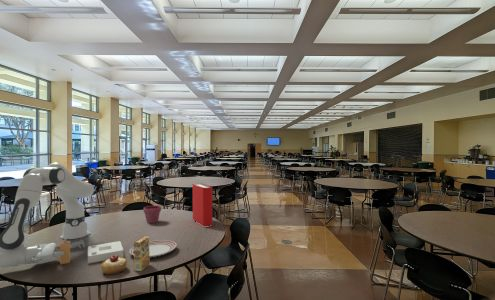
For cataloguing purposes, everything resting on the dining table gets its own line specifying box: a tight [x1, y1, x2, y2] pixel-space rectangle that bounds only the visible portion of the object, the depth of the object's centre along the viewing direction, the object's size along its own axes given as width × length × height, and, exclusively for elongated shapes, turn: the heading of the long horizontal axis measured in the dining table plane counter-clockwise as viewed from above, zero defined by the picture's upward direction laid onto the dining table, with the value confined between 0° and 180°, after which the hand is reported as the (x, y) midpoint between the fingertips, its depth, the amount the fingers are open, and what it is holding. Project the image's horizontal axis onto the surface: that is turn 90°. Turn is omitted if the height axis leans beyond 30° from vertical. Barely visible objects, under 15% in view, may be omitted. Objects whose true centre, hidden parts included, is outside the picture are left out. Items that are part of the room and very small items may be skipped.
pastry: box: [100, 255, 128, 275], centre depth 143 cm, size 12×12×9 cm
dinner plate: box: [128, 239, 178, 259], centre depth 168 cm, size 27×27×3 cm
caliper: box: [56, 238, 86, 252], centre depth 169 cm, size 20×1×6 cm, turn 124°
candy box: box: [133, 236, 151, 272], centre depth 145 cm, size 9×4×15 cm, turn 171°
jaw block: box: [59, 239, 71, 265], centre depth 153 cm, size 4×4×13 cm
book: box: [192, 183, 213, 226], centre depth 231 cm, size 27×8×32 cm, turn 30°
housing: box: [87, 240, 124, 264], centre depth 163 cm, size 18×18×5 cm
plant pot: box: [143, 205, 162, 224], centre depth 236 cm, size 14×14×13 cm
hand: (65, 249), depth 153 cm, fingers open, 8 cm apart
